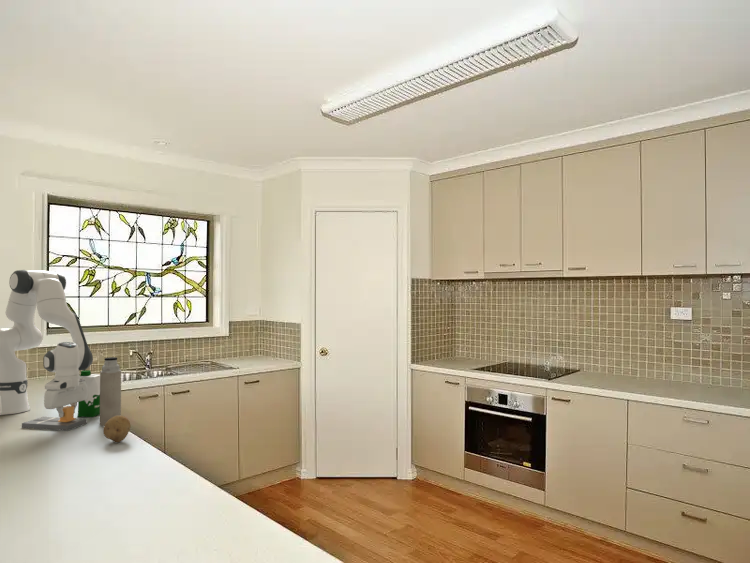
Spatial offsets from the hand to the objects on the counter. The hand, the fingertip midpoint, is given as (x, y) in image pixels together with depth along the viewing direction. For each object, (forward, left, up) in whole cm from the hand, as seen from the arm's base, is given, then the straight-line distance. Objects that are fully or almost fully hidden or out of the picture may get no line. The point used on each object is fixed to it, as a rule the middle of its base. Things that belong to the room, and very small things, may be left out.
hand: (66, 415), depth 216 cm
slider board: (-6, 0, -5) cm, 7 cm away
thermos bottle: (+15, +7, -5) cm, 17 cm away
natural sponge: (+35, -17, -5) cm, 40 cm away
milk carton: (-4, +19, -5) cm, 20 cm away
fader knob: (0, 0, -2) cm, 2 cm away
